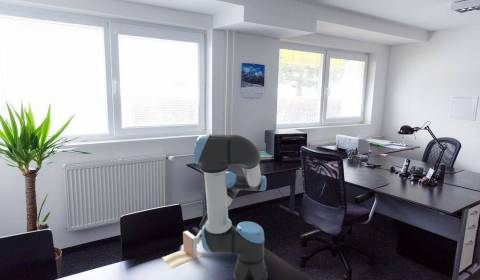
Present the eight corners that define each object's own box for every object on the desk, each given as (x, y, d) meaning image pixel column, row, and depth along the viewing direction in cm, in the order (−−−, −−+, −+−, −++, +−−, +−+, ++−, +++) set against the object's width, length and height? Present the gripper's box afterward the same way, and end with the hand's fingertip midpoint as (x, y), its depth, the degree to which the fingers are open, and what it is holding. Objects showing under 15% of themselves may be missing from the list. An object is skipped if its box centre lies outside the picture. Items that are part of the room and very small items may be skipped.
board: (202, 257, 146) (202, 255, 146) (172, 270, 136) (172, 268, 136) (190, 248, 154) (190, 246, 154) (161, 259, 144) (161, 257, 144)
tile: (197, 256, 145) (196, 237, 143) (192, 258, 144) (192, 239, 142) (187, 248, 152) (187, 230, 150) (183, 250, 151) (182, 232, 149)
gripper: (233, 210, 154) (207, 251, 146) (219, 202, 164) (193, 240, 156) (225, 203, 150) (197, 244, 142) (211, 195, 160) (184, 234, 152)
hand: (195, 242), depth 149 cm, fingers closed
